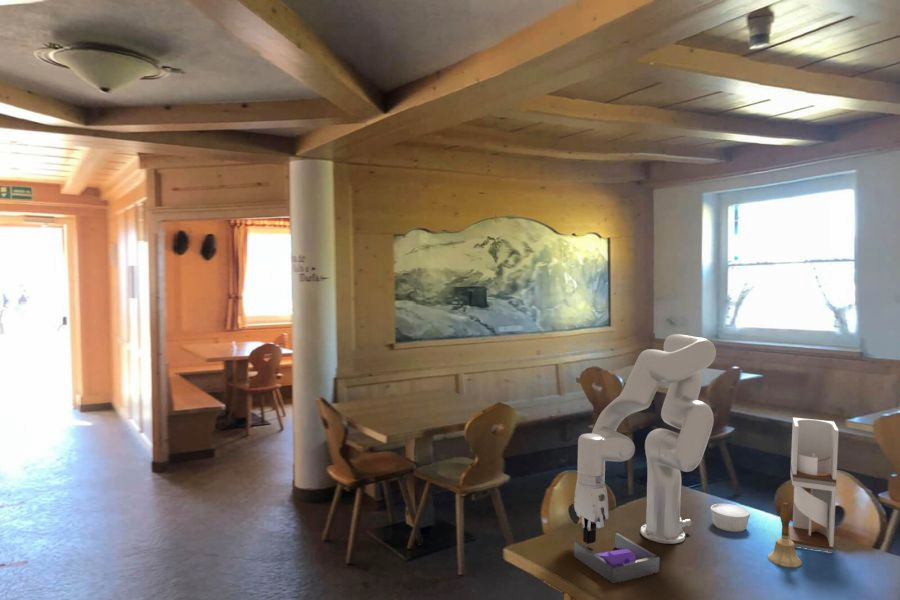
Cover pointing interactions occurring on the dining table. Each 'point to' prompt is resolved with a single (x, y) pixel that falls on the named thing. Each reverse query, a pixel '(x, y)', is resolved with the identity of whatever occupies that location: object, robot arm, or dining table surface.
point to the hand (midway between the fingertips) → (589, 541)
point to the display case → (813, 483)
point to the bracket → (618, 556)
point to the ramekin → (730, 517)
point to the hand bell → (785, 543)
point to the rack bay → (626, 571)
